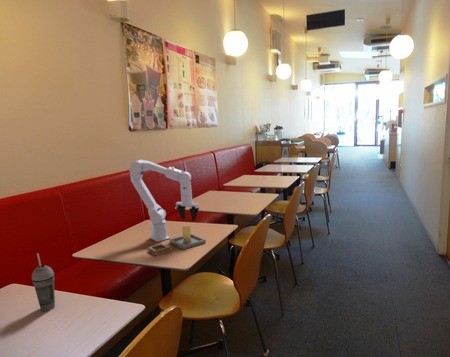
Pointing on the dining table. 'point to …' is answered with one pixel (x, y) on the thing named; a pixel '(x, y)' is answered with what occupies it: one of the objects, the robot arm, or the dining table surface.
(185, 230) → the pin
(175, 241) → the tray
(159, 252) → the socket block
